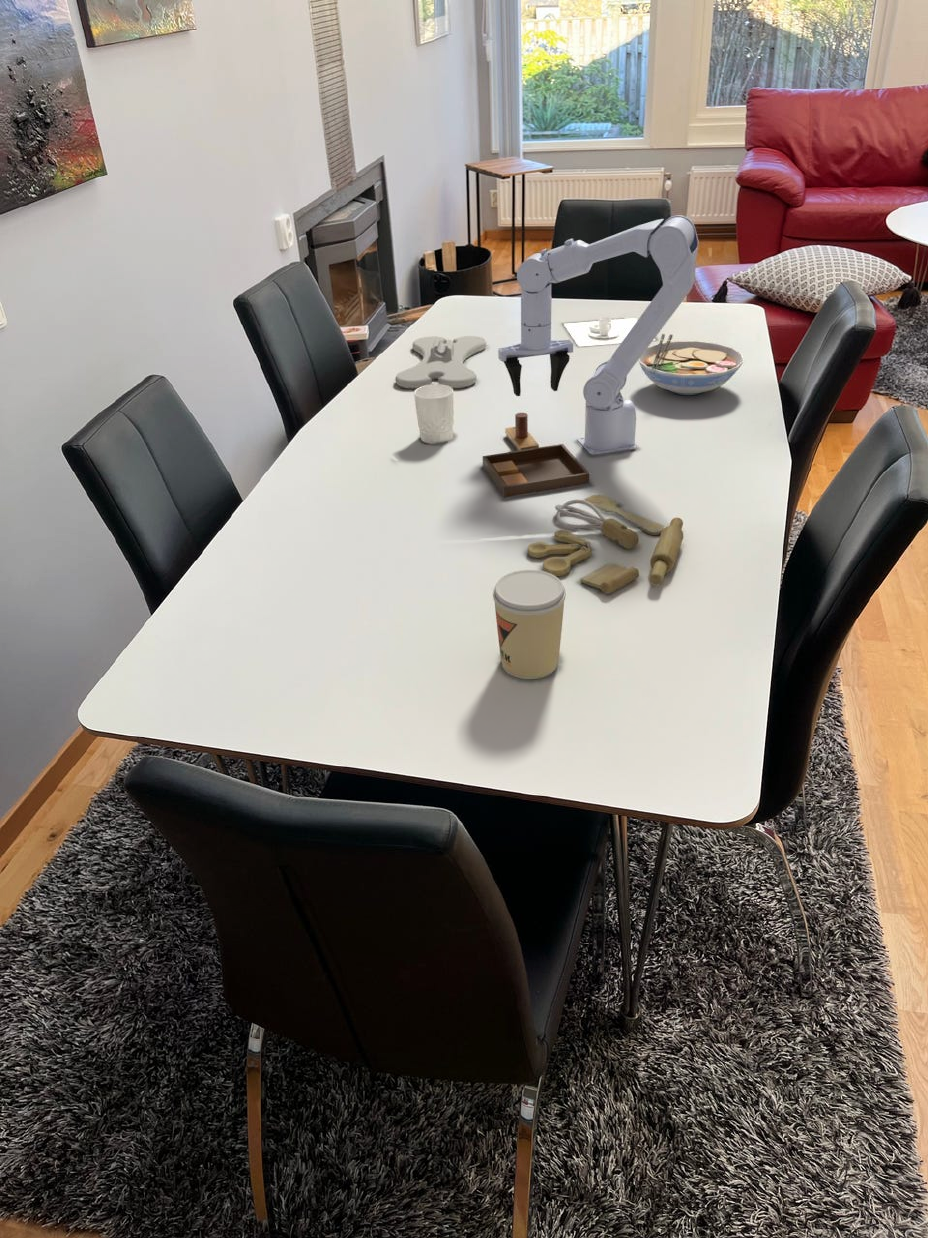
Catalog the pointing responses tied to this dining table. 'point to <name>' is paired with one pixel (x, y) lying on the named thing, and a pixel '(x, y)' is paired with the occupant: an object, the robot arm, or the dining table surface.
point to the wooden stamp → (521, 434)
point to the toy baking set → (613, 574)
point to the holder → (442, 362)
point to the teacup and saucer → (600, 331)
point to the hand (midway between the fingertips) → (535, 391)
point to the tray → (539, 470)
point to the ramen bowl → (689, 365)
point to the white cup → (435, 412)
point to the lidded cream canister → (529, 622)
